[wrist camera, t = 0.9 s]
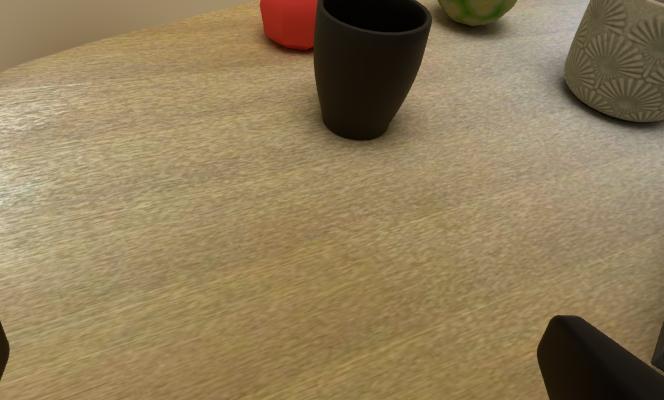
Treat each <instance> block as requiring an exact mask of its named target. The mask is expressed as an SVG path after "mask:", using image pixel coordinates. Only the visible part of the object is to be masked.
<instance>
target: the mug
mask: <svg viewBox="0 0 664 400" xmlns="http://www.w3.org/2000/svg"><path fill="white" fill-rule="evenodd" d="M431 23H432V17H431V14H430V12H429V11H428V10H427V8H426V7H425V6H423V5H422V4H420V3H419V2H418V1H416V0H318V1H317V8H316V19H315V30H314V47H313V49H314V70H315V79H316V86H317V91H318V96H319V101H320V105H321V110H322V117H323V121H324V123H325V125H326V126H327V127H328V128H329V129H330V130H331V131H332V132H334V133H336V134H338V135H340V136H342V137H345V138H349V139H354V140H369V139H373V138H376V137H379V136H381V135H382V134H383V133H384V132H385V131H386V130H387V128H388V126H389V124H390V122H391V121H392V119H393V118H394V116H395V114H396V113H397V111H398V110H399V108H400V106H401V105H402V103H403V101H404V100H405V98H406V96H407V94H408V92H409V90H410V88H411V86H412V84H413V82H414V80H415V78H416V75H417V72H418V70H419V67H420V65H421V61H422V58H423V54H424V51H425V47H426V43H427V39H428V35H429V32H430V28H431Z"/></svg>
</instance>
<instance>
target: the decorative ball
mask: <svg viewBox="0 0 664 400" xmlns="http://www.w3.org/2000/svg"><path fill="white" fill-rule="evenodd" d="M438 2H439V4H440V6H441V7H442V8H443V10H444V11H445V12H446V13H447V15H448V16H449V17H450V18H451V19H453V20H454V21H456V22H458V23H462V24H467V25H470V26H476V25H485V24H488V23H491V22H492V21H495V20H497V19H498V18H500V17H502V16H503V15H504V14H505V13H506V12H508V11H509V10H510V9H511V8H512V7H513V6H514V5H515V3H516V2H517V0H438Z"/></svg>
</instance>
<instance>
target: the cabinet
mask: <svg viewBox="0 0 664 400" xmlns="http://www.w3.org/2000/svg"><path fill="white" fill-rule="evenodd" d="M652 363H653V364H654V365H656V366H657V367H659V368H661V369H662V370H664V323H663V327H662V330H661V333H660V337H659V340H658V343H657V347H656V350H655V353H654V357H653V360H652Z"/></svg>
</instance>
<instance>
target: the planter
mask: <svg viewBox="0 0 664 400" xmlns="http://www.w3.org/2000/svg"><path fill="white" fill-rule="evenodd" d="M564 76H565V80H566V83H567V85H568V87H569V88H570V90H571V91H572V92H573V93H574V94H575V96H576V97H578V98H579V99H580V100H581V101H582V102H584V103H585V104H587V105H588V106H590V107H592V108H594V109H595V110H597V111H600V112H602V113H604V114H607V115H609V116H612V117H615V118H619V119H623V120H627V121H634V122H654V121H660V120H664V0H590V2H589V4H588V7H587V9H586V11H585V13H584V16H583V18H582V20H581V22H580V25H579V27H578V30H577V32H576V34H575V37H574V39H573V42H572V44H571V47H570V50H569V53H568V56H567V59H566V63H565V69H564Z"/></svg>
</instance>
